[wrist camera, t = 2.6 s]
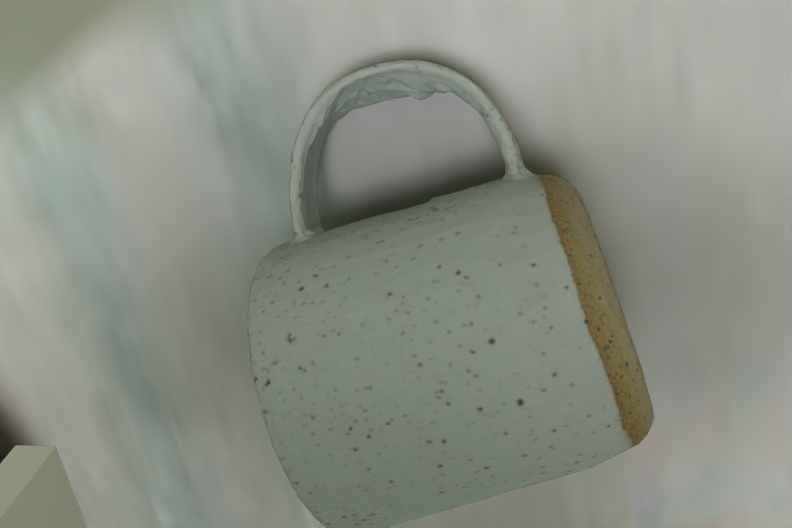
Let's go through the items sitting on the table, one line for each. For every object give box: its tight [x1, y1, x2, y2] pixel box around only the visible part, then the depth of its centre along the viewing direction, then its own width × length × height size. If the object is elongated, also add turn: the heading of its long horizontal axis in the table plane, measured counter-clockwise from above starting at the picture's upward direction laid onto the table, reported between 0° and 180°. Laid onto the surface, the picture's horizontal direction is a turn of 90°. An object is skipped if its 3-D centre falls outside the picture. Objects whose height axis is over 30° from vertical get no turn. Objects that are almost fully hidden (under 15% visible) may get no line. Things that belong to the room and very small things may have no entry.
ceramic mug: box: [248, 59, 654, 528], centre depth 17 cm, size 11×8×8 cm
